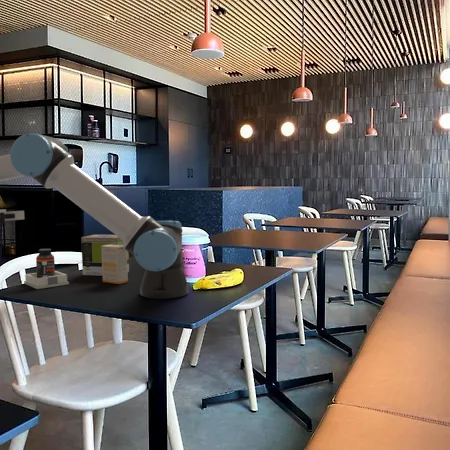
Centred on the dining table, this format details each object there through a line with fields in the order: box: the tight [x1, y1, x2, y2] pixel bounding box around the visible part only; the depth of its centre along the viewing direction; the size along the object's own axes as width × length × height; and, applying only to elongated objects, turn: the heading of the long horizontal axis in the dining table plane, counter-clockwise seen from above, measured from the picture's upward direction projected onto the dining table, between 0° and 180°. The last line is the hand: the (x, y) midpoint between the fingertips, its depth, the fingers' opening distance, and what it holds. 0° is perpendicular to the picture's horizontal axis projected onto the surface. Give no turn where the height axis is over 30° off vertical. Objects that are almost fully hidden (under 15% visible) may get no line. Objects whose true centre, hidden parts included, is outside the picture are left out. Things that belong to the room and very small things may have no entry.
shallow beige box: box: [23, 270, 70, 290], centre depth 172 cm, size 12×11×3 cm
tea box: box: [80, 234, 130, 277], centre depth 189 cm, size 15×10×15 cm, turn 76°
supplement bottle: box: [35, 248, 56, 278], centre depth 171 cm, size 6×6×11 cm
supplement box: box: [101, 244, 129, 285], centre depth 174 cm, size 8×5×13 cm, turn 56°
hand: (14, 214), depth 163 cm, fingers open, 13 cm apart
